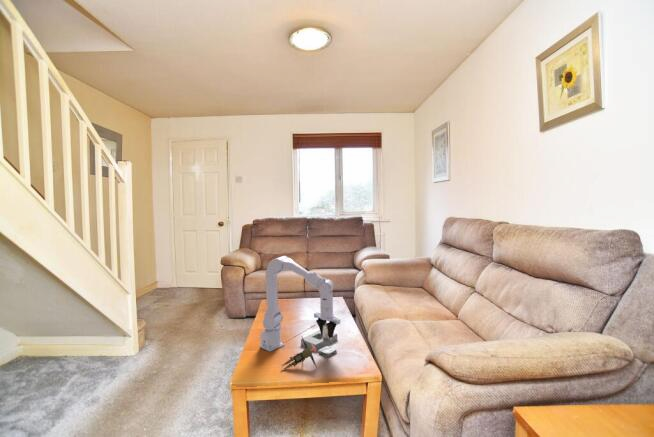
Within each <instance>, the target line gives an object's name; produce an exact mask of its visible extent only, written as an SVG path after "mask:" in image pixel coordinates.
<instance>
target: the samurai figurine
mask: <svg viewBox="0 0 654 437" xmlns="http://www.w3.org/2000/svg"><path fill="white" fill-rule="evenodd" d="M316 325H317V323H316V324H314V325H312V326H310V327H309V328H307V329H305V330H303V331H301V332H300V333H298V334H297V335H294V336H293V337H292V338H289V339H288V340H285V342H282V343H283V344H286V343H287V342H289V341H291V340H292V339H293V338H296V337H297V336H299V335H300V337H301V339H302V340H303V343H304V345H305V349H303V350H302V351H301V352H299V353H294V356H289V359H288V360H287V361H286V362H284V363H283V364H281V367H283V371H285V370H286V369H289V368H291V367H296V366H297V365H299V364H301V363H302V362H303V361H305V360H306V359H308V358H310V359H311V361H312V363H313V365H314V366H315V368H316V369H318V366H317V364H316V361H315V359H314V356H313V353H314V352H315V354H317V351H316V347H314V346H313V345H312V348H309V347H308V346H307V344H306V342H305V340H304V339H303V338H304V337H303V336H302V335H301V334H303V333H304V332H306V331H307V330H310V329H312V328H313V327H316ZM281 345H282V344H281ZM279 346H280V345H279ZM279 346H278V347H279ZM276 348H277V347H276ZM279 348H280V347H279ZM277 349H278V348H277ZM286 365H287V366H286ZM284 366H285V367H284Z"/></svg>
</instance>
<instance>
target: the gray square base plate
mask: <svg viewBox="0 0 654 437" xmlns="http://www.w3.org/2000/svg"><path fill="white" fill-rule="evenodd" d="M317 352H318V353H317V354H318V355H321V356H323V357H326V358H330V357H333V355H335V354H337V352H338V349H336V348H334V347H331V346H328V345H326V346H325V347H323V348H321V349H319V350H317Z"/></svg>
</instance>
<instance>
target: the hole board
mask: <svg viewBox="0 0 654 437" xmlns="http://www.w3.org/2000/svg"><path fill="white" fill-rule="evenodd" d="M303 339H304V340H305V342H306V344H307V346H308V347H309V348H312V345H313V346H314V347H316V352H318V350H320V349H322V348H323V347H325V346H328V345H330V344H332V343H334V342H336V341H338V333H336V332H334V333H333V337H331V341H328V342H326V341H323V335H321V332H320V330H318V331H315V332H312V333H311V334H309V335H307V336H305V337H303ZM300 346H302V347H305V345H304V343H303V340H302V338H300ZM305 348H306V347H305Z"/></svg>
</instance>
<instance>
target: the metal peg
mask: <svg viewBox="0 0 654 437" xmlns="http://www.w3.org/2000/svg"><path fill="white" fill-rule="evenodd" d="M327 323H328V322H326V323H324V324H323V341H326V342H328V341H331V338H329V336H328V328H327V325H326V324H327Z"/></svg>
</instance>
